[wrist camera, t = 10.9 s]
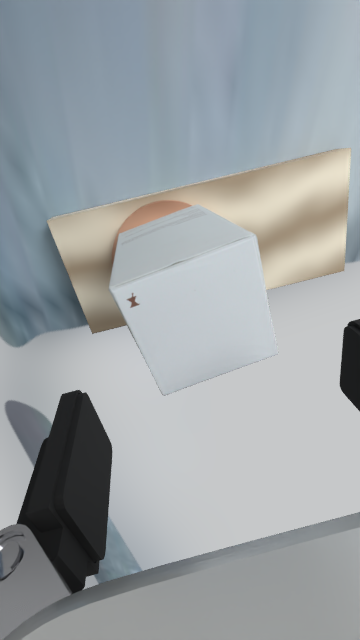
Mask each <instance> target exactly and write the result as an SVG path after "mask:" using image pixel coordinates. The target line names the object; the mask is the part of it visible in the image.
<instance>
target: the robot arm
mask: <svg viewBox="0 0 360 640" xmlns="http://www.w3.org/2000/svg"><path fill="white" fill-rule="evenodd" d="M343 336H344V337H343V348H342V362H341V374H340V387H341V390H342V392H343V393H344V394H345V395H346V396H347V398H348V399H349V400H350V401H351V402H352V403H353V404H354V405H355V407H356V408H357V409H358V410H359V411H360V319H358V320H355V321H351V322H349V323H348V326H347V327H345V328H344V335H343ZM111 464H112V445H111V442H110V440H109V438H108V436H107V434H106V432H105V430H104V428H103V425H102V423H101V421H100V419H99V417H98V415H97V413H96V411H95V409H94V407H93V405H92V403H91V401H90V398H89V396H88V395H87V393H82V392H81V391H80V390H76V391H73V392H69V393H65V394H62V396H61V398H60V401H59V405H58V408H57V411H56V415H55V418H54V421H53V425H52V428H51V431H50V435H49V437H48V438H46V439H45V440H44V441H43V443H42V445H41V449H40V452H39V455H38V458H37V461H36V464H35V467H34V471H33V474H32V477H31V480H30V483H29V486H28V489H27V493H26V496H25V499H24V502H23V505H22V508H21V511H20V514H19V518H18V521H17V524H16V525H11V526H8V527H6V528H4V529H2V530H1V531H0V640H360V512H359V513H355V514H351V515H347V516H344V517H340V518H336V519H332V520H329V521H325V522H321V523H318V524H314V525H310V526H306V527H303V528H298V529H295V530H291V531H287V532H283V533H280V534H276V535H272V536H268V537H265V538H261V539H257V540H254V541H250V542H246V543H242V544H239V545H235V546H231V547H227V548H224V549H220V550H217V551H213V552H209V553H205V554H202V555H198V556H194V557H191V558H187V559H184V560H180V561H177V562H172V563H169V564H165V565H161V566H158V567H155V568H151V569H148V570H144V571H141V572H138V573H134V574H131V575H127V576H124V577H120V578H117V579H114V580H110V581H107V582H104V583H101V584H98V585H95V586H93V587H90V588H87V589H84V590H82V589H83V588H84V587H85V579H86V577H87V576H90V575H94V574H98V571H99V560H102V559H104V556H105V549H106V535H107V521H108V507H109V492H110V478H111Z"/></svg>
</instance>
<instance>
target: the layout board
mask: <svg viewBox="0 0 360 640" xmlns="http://www.w3.org/2000/svg"><path fill="white" fill-rule="evenodd" d="M350 159H351V148H343V149H335V150H331V151H327V152H322V153H318V154H314V155H310V156H306V157H302V158H297V159H293V160H289V161H285V162H281V163H277V164H272V165H268V166H264V167H260V168H256V169H252V170H247V171H243V172H239V173H235V174H231V175H226V176H222V177H218V178H214V179H210V180H206V181H201V182H197V183H193V184H189V185H185V186H181V187H176V188H172V189H168V190H164V191H160V192H155V193H151V194H147V195H143V196H139V197H135V198H130V199H126V200H122V201H118V202H114V203H110V204H105V205H101V206H97V207H93V208H89V209H85V210H80V211H76V212H72V213H68V214H64V215H59V216H55V217H52V218H50V219H49V220H47V223H48V225H49V228H50V230H51V233H52V235H53V238H54V240H55V243H56V245H57V248H58V250H59V253H60V255H61V257H62V260H63V262H64V265H65V267H66V270H67V272H68V275H69V277H70V280H71V282H72V285H73V287H74V289H75V292H76V294H77V297H78V299H79V302H80V304H81V307H82V309H83V312H84V314H85V317H86V319H87V322H88V324H89V326H90V329H91V331H92V334H93V333H97V332H101V331H105V330H109V329H113V328H117V327H121V326H125V325H127V324H126V322H125V320H124V319H123V317H122V315H121V313H120V311H119V309H118V307H117V305H116V303H115V301H114V299H113V297H112V295H111V293H110V292H109V290H108V288H109V283H110V278H111V272H112V267H113V262H114V257H115V251H116V246H117V241H118V235H119V234H120V233H122V232H125V231H127V230H130V229H133V228H135V227H138V226H140V225H143V224H146V223H148V222H151V221H153V220H156V219H158V218H161V217H164V216H166V215H169V214H171V213H174V212H177V211H179V210H182V209H185V208H188V207H191V206H194V205H196V204H199V205H201V206H202V207H204V208H206V209H208V210H210V211H212V212H214V213H216V214H218V215H219V216H221V217H223V218H225V219H227V220H229V221H230V222H232V223H234V224H236V225H238V226H240V227H242V228H244V229H246V230H247V231H249V232H252V233H254V234H255V235H256V236H257V240H258V246H259V252H260V258H261V263H262V269H263V274H264V280H265V285H266V290H269V289H273V288H277V287H281V286H285V285H289V284H293V283H297V282H301V281H305V280H309V279H313V278H317V277H321V276H325V275H329V274H333V273H337V272H341V271H344V265H345V248H346V230H347V212H348V194H349V176H350Z"/></svg>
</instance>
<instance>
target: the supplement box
mask: <svg viewBox="0 0 360 640" xmlns="http://www.w3.org/2000/svg"><path fill="white" fill-rule="evenodd" d="M108 290H109V292H110V293H111V295H112V297H113V299H114V301H115V303H116V305H117V307H118V309H119V311H120V313H121V315H122V317H123V319H124V320H125V322H126V324H127V326H128V328H129V330H130V332H131V334H132V336H133V338H134V339H135V342H136V344H137V345H138V347H139V349H140V351H141V353H142V355H143V357H144V359H145V361H146V363H147V365H148V367H149V369H150V371H151V373H152V375H153V377H154V379H155V381H156V383H157V385H158V387H159V389H160V391H161V393H162V395H164V396H165V395H168V394H170V393H173V392H176V391H178V390H181V389H184V388H187V387H189V386H192V385H194V384H197V383H200V382H203V381H205V380H208V379H211V378H214V377H217V376H219V375H222V374H225V373H228V372H230V371H233V370H236V369H239V368H241V367H244V366H247V365H249V364H252V363H255V362H258V361H261V360H264V359H266V358H269V357H272V356H275V355H277V354H278V353H279V351H278V347H277V343H276V338H275V333H274V329H273V324H272V319H271V313H270V308H269V302H268V296H267V291H266V285H265V280H264V274H263V269H262V263H261V258H260V252H259V246H258V240H257V236H256V235H255V234H254V233H252V232H249V231H247V230H246V229H244V228H242V227H240V226H238V225H236V224H234V223H232V222H230V221H229V220H227V219H225V218H223V217H221V216H219V215H218V214H216V213H214V212H212V211H210V210H208V209H206V208H204V207H202V206H201V205H199V204H196V205H194V206H191V207H188V208H185V209H182V210H179V211H177V212H174V213H171V214H169V215H166V216H164V217H161V218H158V219H156V220H153V221H151V222H148V223H146V224H143V225H140V226H138V227H135V228H133V229H130V230H127V231H125V232H122V233H120V234H119V235H118V241H117V246H116V251H115V257H114V262H113V267H112V272H111V278H110V283H109V288H108Z"/></svg>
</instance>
